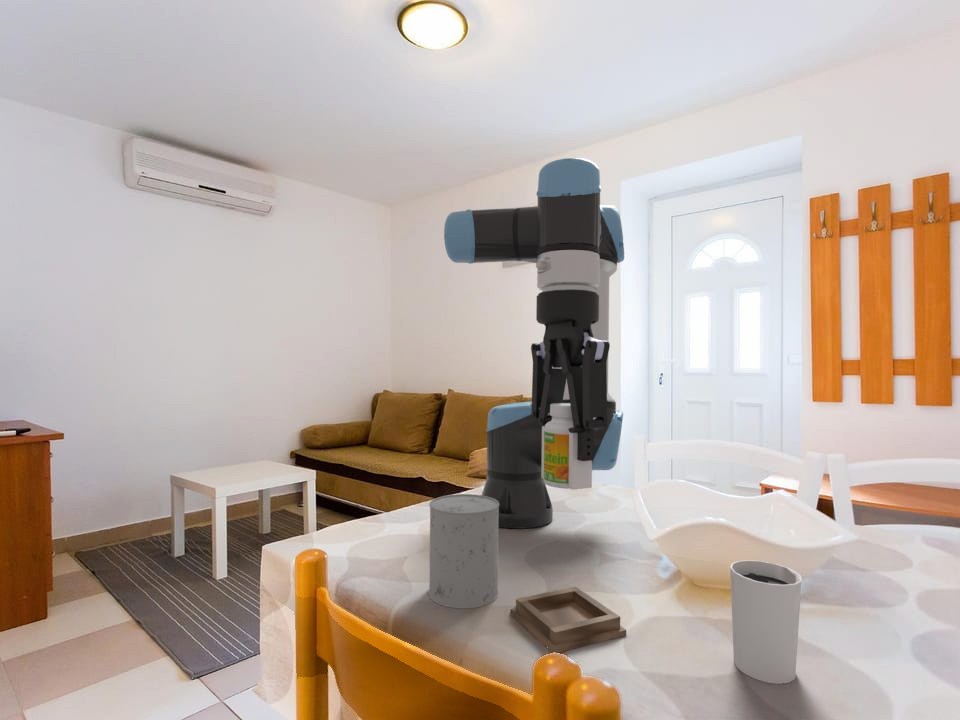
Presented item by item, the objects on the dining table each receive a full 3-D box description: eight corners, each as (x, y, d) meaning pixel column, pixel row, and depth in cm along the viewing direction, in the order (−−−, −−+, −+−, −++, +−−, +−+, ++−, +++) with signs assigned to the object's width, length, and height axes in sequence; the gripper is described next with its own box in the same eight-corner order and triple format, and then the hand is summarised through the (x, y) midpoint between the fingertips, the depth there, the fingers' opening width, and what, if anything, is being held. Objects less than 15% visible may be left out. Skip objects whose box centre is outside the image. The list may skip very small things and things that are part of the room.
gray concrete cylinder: (419, 584, 76) (420, 497, 76) (481, 574, 80) (482, 491, 80) (442, 614, 67) (443, 516, 67) (510, 601, 71) (511, 508, 71)
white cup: (731, 677, 54) (732, 579, 54) (726, 645, 60) (727, 556, 60) (807, 693, 52) (808, 589, 52) (794, 657, 58) (795, 565, 58)
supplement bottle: (534, 484, 65) (535, 404, 65) (559, 477, 69) (560, 402, 69) (572, 491, 61) (573, 406, 61) (596, 484, 65) (597, 404, 65)
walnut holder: (576, 599, 71) (576, 584, 71) (626, 635, 62) (626, 617, 62) (510, 613, 67) (510, 597, 67) (553, 653, 58) (553, 635, 58)
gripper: (505, 297, 72) (503, 470, 72) (586, 278, 55) (584, 504, 55) (553, 301, 75) (551, 466, 75) (643, 283, 58) (641, 497, 58)
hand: (565, 482), depth 65 cm, fingers closed on supplement bottle, 5 cm apart
